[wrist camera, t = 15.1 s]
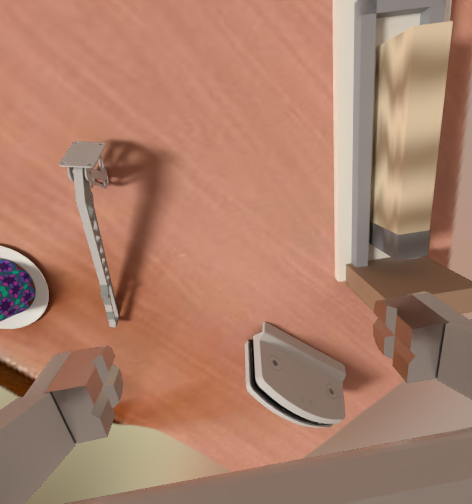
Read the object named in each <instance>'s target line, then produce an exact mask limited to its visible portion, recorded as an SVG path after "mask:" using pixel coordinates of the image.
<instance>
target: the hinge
mask: <svg viewBox="0 0 472 504" xmlns="http://www.w3.org/2000/svg"><path fill="white" fill-rule="evenodd" d="M245 369H246V388H247V390H248V392H249V393H250V394H251V395H252V396H253V397H254V398H255V399H256V400H258V401H259V402H260V403H261V404H262V405H264V406H265V407H266V408H268V409H269V410H271V411H272V412H274V413H275V414H277V415H279V416H280V417H282V418H284V419H286V420H288V421H290V422H293V423H295V424H299V425H302V426H307V427H318V428H319V427H331V426H332V425H333V424H338V423H340V422H341V421H342V420H343V419H344V418H345V405H344V394H343V381H344V379H345V377H346V371H345V366H344V364H342V363H340V362H339V361H337V360H335V359H333V358H331V357H329V356H327V355H326V354H324V353H322V352H320V351H318V350H316V349H315V348H313V347H311V346H309V345H307V344H305V343H304V342H302V341H300V340H298V339H296V338H294V337H292V336H291V335H289V334H287V333H285V332H283V331H281V330H280V329H278V328H276V327H274V326H272V325H270V324H269V323H267V322H264V323H263V324H262V332H260V333H258V334H256V335H254V336H253V342H250V341H247V342H246V344H245Z"/></svg>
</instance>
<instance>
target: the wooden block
mask: <svg viewBox="0 0 472 504" xmlns="http://www.w3.org/2000/svg"><path fill="white" fill-rule="evenodd" d="M452 25H453V21H448V22H440V23H432V24H424V25H416V26H413V27H411V28H409V29H407V30H406V31H404V32H402V33H400V34H399V35H397V36H395V37H393V38H392V39H390V40H388V41H386V42H385V43H383V44H381V45H379V46H378V47H376V74H375V102H374V130H373V158H372V186H371V214H370V231H369V244H371V245H373V246H374V247H376V248H377V249H379V250H381V251H382V252H384V253H386V254H387V255H389V256H390V257H392V258H394V259H395V260H404V259H410V258H416V257H423V256H428V249H429V240H430V231H431V230H430V222H431V213H432V204H433V195H434V186H435V177H436V168H437V159H438V150H439V141H440V132H441V123H442V114H443V105H444V96H445V87H446V78H447V69H448V60H449V51H450V43H451V34H452Z"/></svg>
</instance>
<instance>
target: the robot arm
mask: <svg viewBox="0 0 472 504" xmlns="http://www.w3.org/2000/svg"><path fill="white" fill-rule="evenodd" d="M374 313H375V314H376V316H377V317H378V319H377V320H376V322H375V323H374V324H373V335H374V338H375V342H376V344H377V346H378V348H379V350H380V351H381V352H382V353H383V355H385V356H387V357H389V358H391V359H393V367H394V368H395V369H396V371H397V372H398V373H399V374H400V375H401V377H402V378H403V379H404V380H405V381H406V382H407V383H411V382H418V381H424V380H431V379H437V380H438V381H440V382H441V383H443V384H445V385H447V386H449V387H450V388H452V389H454V390H455V391H457V392H459V393H461V394H463V395H464V396H466V397H468V398H470V399H471V400H472V319H471V320H469V319H467V318H466V317H464V316H463V315H461V314H460V313H459V312H457V311H456V310H454V309H453V308H451V307H450V306H448V305H447V304H445V303H444V302H443V301H441V300H440V299H438V298H437V297H435V296H434V295H432V294H431V293H429V292H425V291H423V292H418V293H413V294H408V295H405V296H400V297H394V298H389V299H383V300H378V301H376V302H375V305H374ZM114 358H115V355H114V352H113V350H112V348H111V347H109V346H102V347H96V348H89V349H82V350H75V351H69V352H63V353H58V354H56V355H54V356H53V357H52V358H51V360H50V361H49V362H48V364H47V365H46V367H45V368H44V369H43V371H42V372H41V373H40V375H39V376H38V378H37V379H36V380H35V382H34V383H33V384H32V386H31V387H30V389H29V390H28V391H27V393H26V394H25V395H24V397H21V398H17V399H15V400H14V401H13V402H11V403H10V404H8V405H7V406H5V407H4V408H3V409H1V410H0V504H25V503H26V502H27V501H28V500H29V499H30V497H31V496H32V495H33V494H34V493H35V492H36V491H37V489H38V488H39V487H40V486H41V484H43V482H44V481H45V480H46V479H47V478H48V477H49V476H50V474H51V473H52V472H53V471H54V470H55V469H56V467H57V466H58V465H59V464H60V463H61V462H62V461H63V459H64V458H65V457H66V456H67V455H68V453H69V452H70V451H71V450H72V449H73V448H74V447H75V444H76V443H81V442H86V441H91V440H96V439H100V438H105V437H107V436H108V433H109V431H110V428H111V425H112V422H113V419H114V416H115V414H114V412H113V408H114V407H115V406H116V405H117V404H118V403H119V401H120V398H121V395H122V388H123V380H122V374H121V371H120V368H118V367H117V366H115V365H114V364H112V363H113V361H114ZM65 504H472V427H471V428H466V429H460V430H455V431H450V432H445V433H439V434H433V435H428V436H423V437H418V438H412V439H407V440H401V441H396V442H391V443H386V444H380V445H375V446H369V447H364V448H358V449H353V450H348V451H342V452H337V453H332V454H326V455H322V456H316V457H310V458H305V459H300V460H294V461H289V462H284V463H278V464H273V465H268V466H262V467H257V468H251V469H246V470H241V471H235V472H230V473H225V474H219V475H214V476H209V477H203V478H198V479H193V480H187V481H182V482H177V483H171V484H166V485H161V486H155V487H150V488H145V489H139V490H134V491H129V492H123V493H118V494H113V495H107V496H102V497H97V498H91V499H86V500H81V501H76V502H70V503H65Z"/></svg>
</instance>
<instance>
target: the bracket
mask: <svg viewBox="0 0 472 504" xmlns="http://www.w3.org/2000/svg"><path fill="white" fill-rule="evenodd" d="M104 148H105V143H100V142H81V141H76V142H73V143H72V145H71V146H70V148H69V149H68V151H67V152H66V154H65V155H64V157H63V158H62V160H61V161H60V163H59V165H60V166H61V167H68V176H69V179H70V180H71V181H73V182H74V184H75V195H76V202H77V206H78V209H79V213H80V216H81V220H82V223H83V227H84V230H85V234H86V237H87V241H88V244H89V248H90V251H91V255H92V258H93V262H94V265H95V269H96V272H97V276H98V279H99V283H100V287H101V298H103V299H104V305H105V309H106V313H107V317H108V321H109V327H116V326H117V323H118V319H119V315H118V308H117V304H116V300H115V295H114V291H113V287H112V283H111V278H110V274H109V270H108V265H107V261H106V257H105V252H104V248H103V244H102V239H101V235H100V231H99V227H98V222H97V218H96V214H95V209H94V204H93V194H92V192H91V189H90V188H93V186H94V184H95V185H97V186H99V187H102V188H104V189H106V188H107V186H108V184H109V179H108V175H107V171H106V168H105V166H104V162H103V158H102V155H101V153H102V151H103V150H104ZM97 161H98V162H99V167H100V171H98V170H95V169H93V167H95V165H96V163H97ZM64 163H65V164H64ZM72 170H73V173H72ZM95 179H99V180H103V184H104V185H102V184H100V183H98V182H96V181H95ZM105 180H107V182H105Z"/></svg>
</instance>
